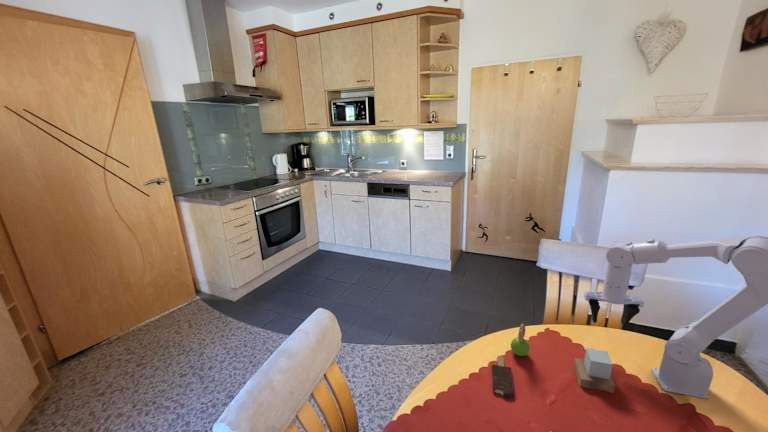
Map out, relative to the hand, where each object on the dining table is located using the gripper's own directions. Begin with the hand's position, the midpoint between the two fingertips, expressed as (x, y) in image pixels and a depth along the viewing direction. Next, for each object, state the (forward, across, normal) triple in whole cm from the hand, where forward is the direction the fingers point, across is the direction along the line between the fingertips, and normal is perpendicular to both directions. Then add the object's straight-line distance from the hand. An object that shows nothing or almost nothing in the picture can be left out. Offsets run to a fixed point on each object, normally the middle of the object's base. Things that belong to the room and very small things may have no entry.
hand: (608, 322), depth 97 cm
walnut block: (+10, +6, +14) cm, 18 cm away
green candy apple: (+10, +25, +10) cm, 29 cm away
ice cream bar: (+10, +30, +20) cm, 38 cm away
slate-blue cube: (+7, +6, +14) cm, 17 cm away
